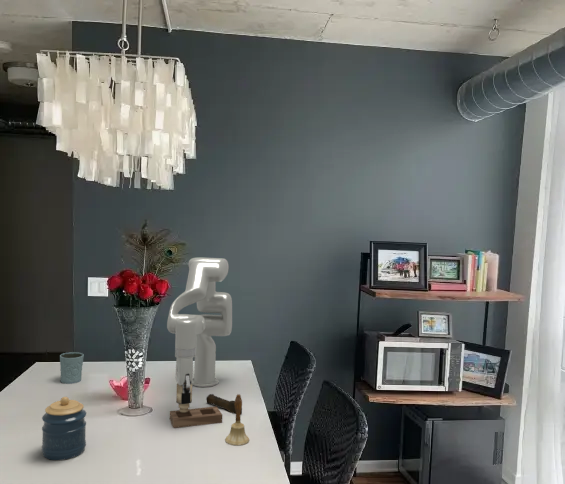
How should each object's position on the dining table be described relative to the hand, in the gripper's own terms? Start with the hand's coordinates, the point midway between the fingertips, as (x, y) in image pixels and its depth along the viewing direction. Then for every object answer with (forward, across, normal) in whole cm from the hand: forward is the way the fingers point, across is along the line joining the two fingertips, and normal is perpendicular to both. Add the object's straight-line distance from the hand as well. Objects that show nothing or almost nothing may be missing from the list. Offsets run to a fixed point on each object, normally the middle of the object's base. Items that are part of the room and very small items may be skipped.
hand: (184, 400), depth 191 cm
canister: (+9, +13, -40) cm, 43 cm away
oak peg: (+4, 0, 0) cm, 4 cm away
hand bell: (+9, +21, +14) cm, 27 cm away
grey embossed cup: (+8, -62, -40) cm, 74 cm away
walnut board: (+8, 0, +4) cm, 9 cm away
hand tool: (+9, -9, +19) cm, 23 cm away
